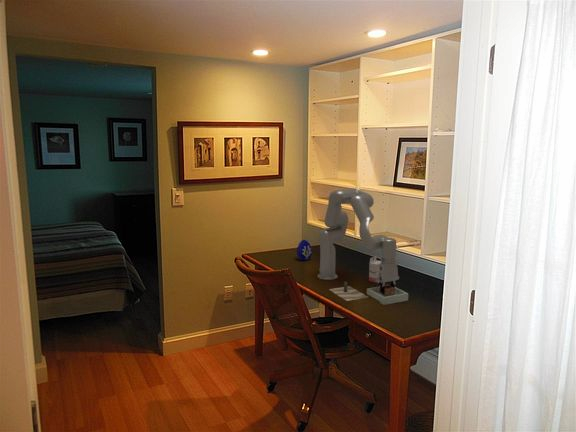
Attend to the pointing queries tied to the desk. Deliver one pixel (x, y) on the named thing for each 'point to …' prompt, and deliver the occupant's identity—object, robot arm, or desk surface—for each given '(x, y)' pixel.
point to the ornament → (304, 250)
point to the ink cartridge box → (374, 269)
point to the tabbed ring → (389, 290)
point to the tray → (385, 300)
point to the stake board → (348, 293)
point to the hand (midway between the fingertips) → (387, 291)
